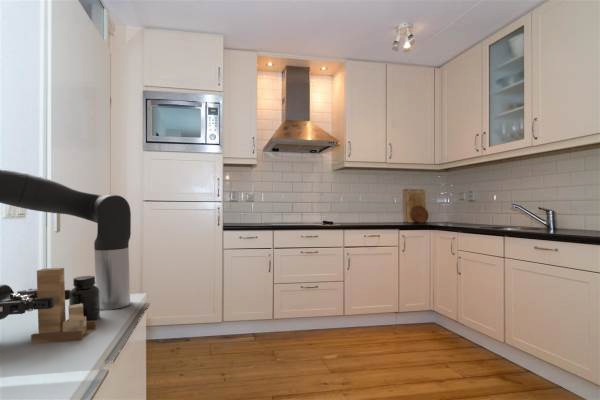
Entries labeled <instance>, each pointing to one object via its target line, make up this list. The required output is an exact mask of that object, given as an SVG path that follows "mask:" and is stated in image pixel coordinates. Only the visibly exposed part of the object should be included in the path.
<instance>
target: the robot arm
mask: <svg viewBox="0 0 600 400" xmlns="http://www.w3.org/2000/svg"><path fill="white" fill-rule="evenodd" d="M0 204H3V205H8V206H12V207H16V208H20V209H25V210H31V211H36V212H43V213H50V214H61V215H69V216H72V217H76V218H81V219H84V220H87V221H89V222H93V223H96V224H97V229H96V230H97V234H96V237H95V240H94V241H93V242H94V243H93V245H94V246H93V248H94V273H95V274H94V275H95V276H94V277H95V284H94V286H96V287H98V289H99V296H100V311H102V310H103V311H105V310H106V311H109V310H118V309H120V308H125V307H127V306H130V305H131V290H130V289H131V287H130V285H131V281H130V280H131V279H130V257H129V256H130V255H129V254H130V253H129V243H130V242H129V241H130V239H131V235H132V234H131V232H132V231H131V228H132V221H131V220H132V217H131V216H132V214H131V206H130V203H129V202H128V200H127V199H126V198H125V197H123V196H120V195H117V194H109V195H105V194H104V195H103V194H95V193H90V192H89V193H88V192H85V191H84V192H83V191H79V190H76V189H73V188H71V187H68V186H66V185H64V184H62V183H60V182H58V181H55V180H52V179H50V178H46V177H43V176H39V175H36V174H32V173H29V172H28V173H27V172H24V171H19V170H13V169H7V168H6V169H5V168H0ZM70 298H71V290H70V289H65V301H66V300H67V301H69V299H70ZM53 307H54V299H53V298H38V297H37V288H29V289H21V290H18V291H17V292H15V291H13V288H12V287H11V286H9V285H7V284H0V320H4V319H6V318H7V317H8V316H11V315H12V316H13V315H23V314H25V313H26V312H28V313H29V312H32V311H35V310H37V311H38V309H51V308H53Z"/></svg>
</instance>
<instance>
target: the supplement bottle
mask: <svg viewBox="0 0 600 400" xmlns="http://www.w3.org/2000/svg"><path fill="white" fill-rule="evenodd" d="M72 286H73V288H72V289H71V290H70V291H71V298H70V299H68V306H69V305H76V304H82V303H83V317H86V321H95V320H96V321H97V320H99V319H100V317H101V315H100V313H101V310H100V296H99V289H98V287H96V285H95V276H94V275H82V276H81V275H80V276H77V277H74V278H73V284H72Z"/></svg>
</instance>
